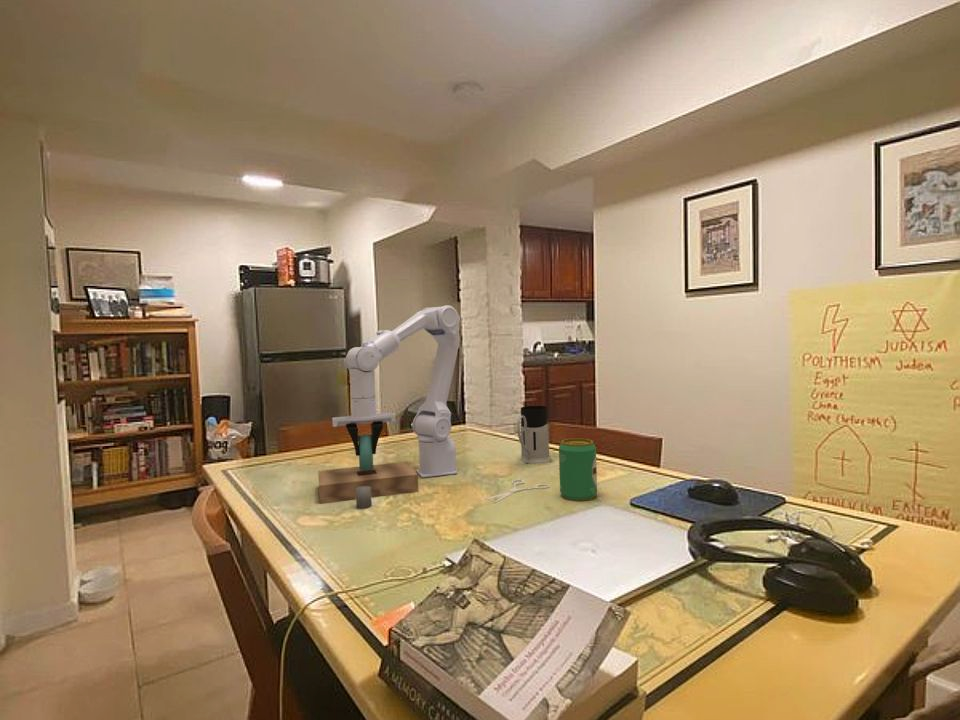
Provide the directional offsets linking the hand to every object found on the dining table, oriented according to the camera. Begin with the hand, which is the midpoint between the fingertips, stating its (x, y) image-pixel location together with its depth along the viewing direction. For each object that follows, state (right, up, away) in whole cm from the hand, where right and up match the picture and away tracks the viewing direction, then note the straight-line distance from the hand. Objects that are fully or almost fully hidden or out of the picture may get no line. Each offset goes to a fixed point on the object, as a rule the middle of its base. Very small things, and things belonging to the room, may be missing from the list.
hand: (365, 454), depth 126 cm
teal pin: (0, -4, 0) cm, 4 cm away
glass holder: (+42, -6, +22) cm, 47 cm away
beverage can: (+49, -8, -10) cm, 50 cm away
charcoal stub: (+2, -9, -13) cm, 16 cm away
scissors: (+35, -8, -5) cm, 36 cm away
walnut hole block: (0, -9, 0) cm, 8 cm away
